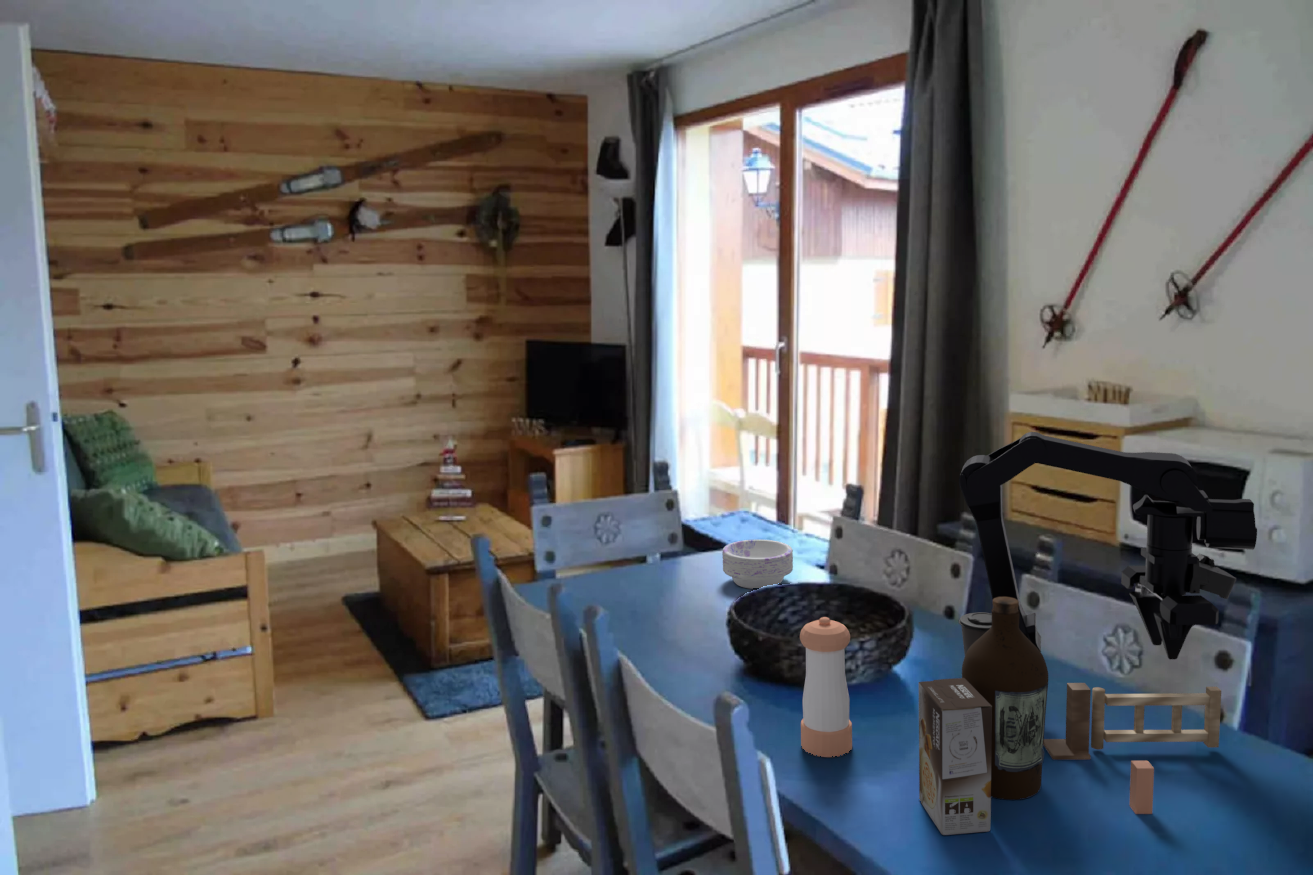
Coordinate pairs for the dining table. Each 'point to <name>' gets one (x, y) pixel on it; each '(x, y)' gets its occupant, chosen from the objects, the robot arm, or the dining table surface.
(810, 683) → the salt shaker
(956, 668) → the dining table surface
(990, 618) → the coffee cup
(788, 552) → the white patterned bowl
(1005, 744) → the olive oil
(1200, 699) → the gate
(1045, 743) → the hinge post
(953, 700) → the coffee box
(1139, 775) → the post
